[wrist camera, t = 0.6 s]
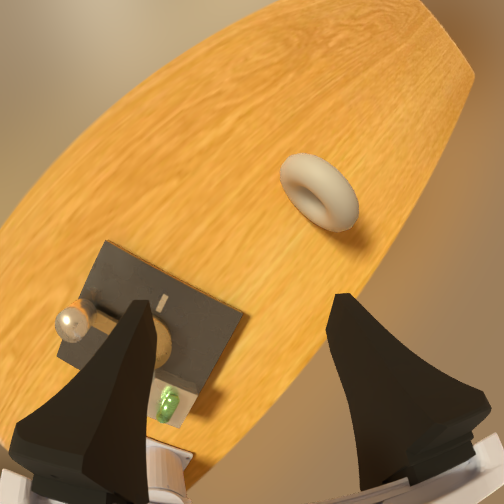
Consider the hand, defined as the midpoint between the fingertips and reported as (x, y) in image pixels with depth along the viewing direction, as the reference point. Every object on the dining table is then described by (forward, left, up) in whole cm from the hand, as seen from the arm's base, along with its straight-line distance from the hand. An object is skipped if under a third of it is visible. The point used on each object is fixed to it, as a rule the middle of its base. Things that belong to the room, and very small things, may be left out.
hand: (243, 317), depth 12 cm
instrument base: (-10, +1, -23) cm, 25 cm away
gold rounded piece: (-10, +4, -22) cm, 24 cm away
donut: (+13, -7, -23) cm, 27 cm away
